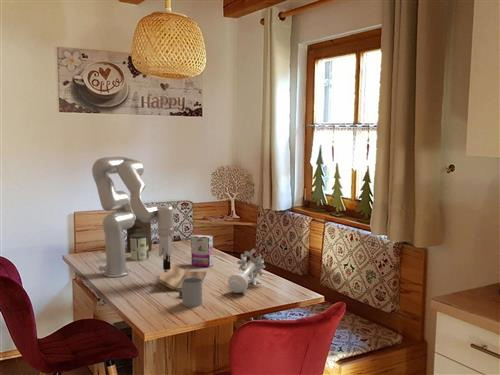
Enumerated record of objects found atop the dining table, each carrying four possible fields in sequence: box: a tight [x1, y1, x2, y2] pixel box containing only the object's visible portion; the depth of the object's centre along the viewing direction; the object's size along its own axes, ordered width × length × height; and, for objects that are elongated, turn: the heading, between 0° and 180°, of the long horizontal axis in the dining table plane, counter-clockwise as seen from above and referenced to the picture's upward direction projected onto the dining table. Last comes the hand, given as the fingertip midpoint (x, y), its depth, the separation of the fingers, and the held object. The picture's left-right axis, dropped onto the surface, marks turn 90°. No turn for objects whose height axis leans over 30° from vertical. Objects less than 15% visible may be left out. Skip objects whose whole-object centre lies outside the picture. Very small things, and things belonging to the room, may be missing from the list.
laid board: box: [176, 270, 207, 292], centre depth 251 cm, size 10×28×2 cm, turn 178°
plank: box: [157, 262, 186, 291], centre depth 251 cm, size 9×28×2 cm, turn 178°
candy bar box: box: [190, 234, 214, 268], centre depth 282 cm, size 11×5×16 cm, turn 68°
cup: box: [181, 278, 203, 308], centre depth 220 cm, size 8×8×10 cm
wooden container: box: [126, 216, 153, 253], centre depth 320 cm, size 15×15×22 cm
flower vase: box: [227, 248, 266, 294], centre depth 241 cm, size 13×18×25 cm
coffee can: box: [130, 233, 150, 262], centre depth 298 cm, size 10×10×14 cm
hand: (166, 269), depth 251 cm, fingers closed
